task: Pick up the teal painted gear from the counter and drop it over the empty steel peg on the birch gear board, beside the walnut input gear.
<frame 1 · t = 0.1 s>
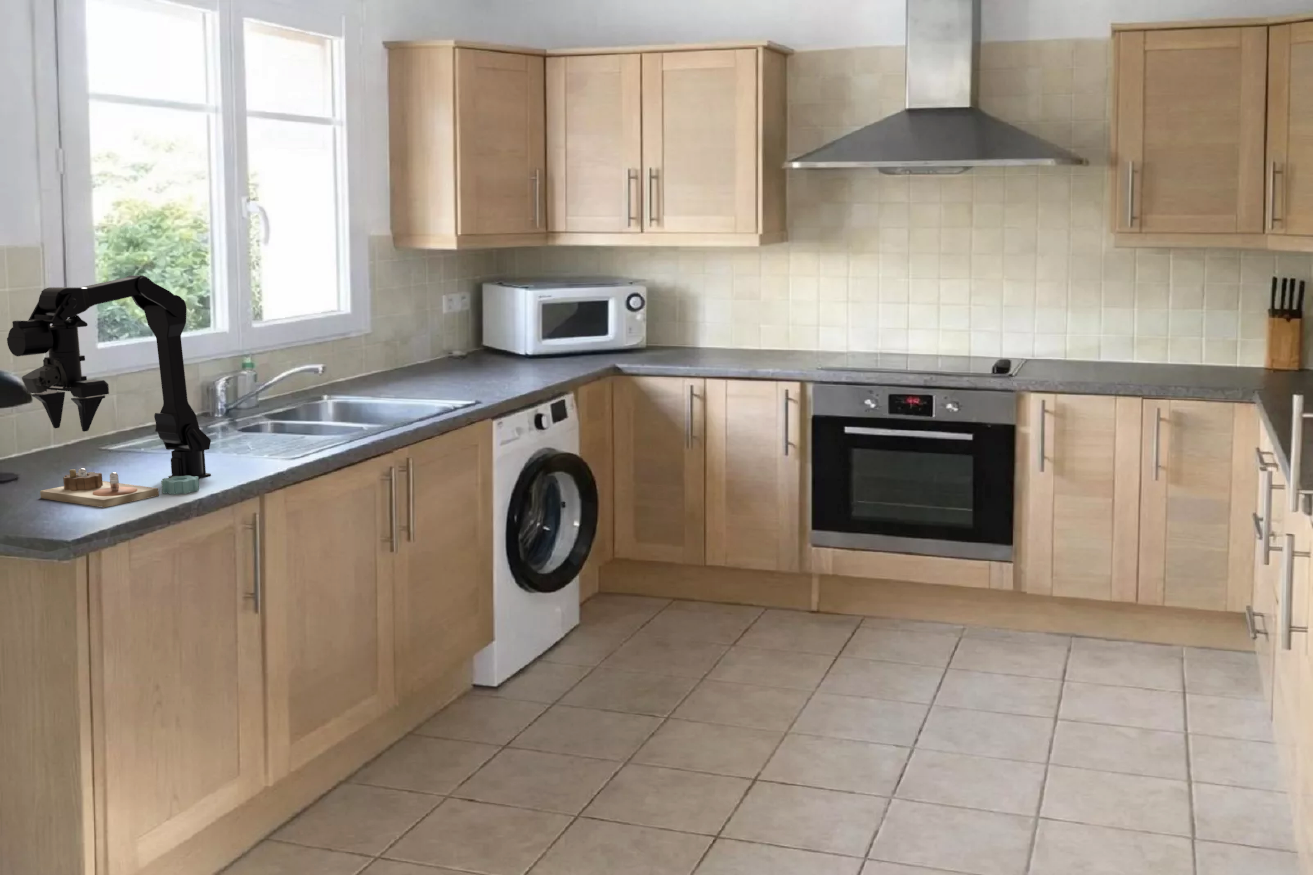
hand: (70, 429, 285), 14 cm above the counter, fingers open, 9 cm apart
steel pegs: (98, 479, 290), on the gear board, point 4 cm above the counter
gear board: (99, 496, 290), on the counter
input gear: (83, 487, 293), resting on gear board
loose gear: (180, 490, 295), on the counter
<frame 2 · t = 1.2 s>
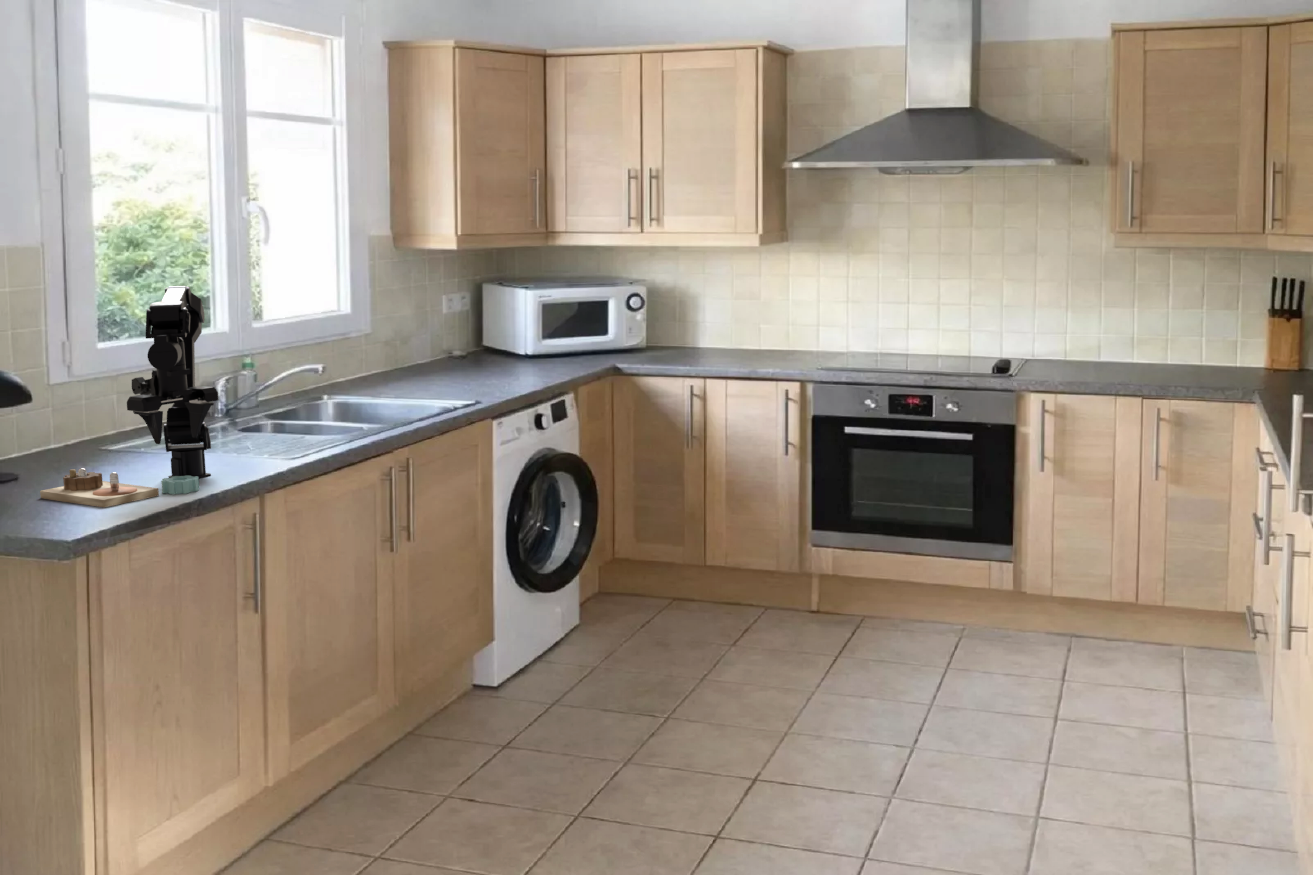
hand: (176, 440, 294), 10 cm above the counter, fingers open, 9 cm apart
nothing on the counter moved.
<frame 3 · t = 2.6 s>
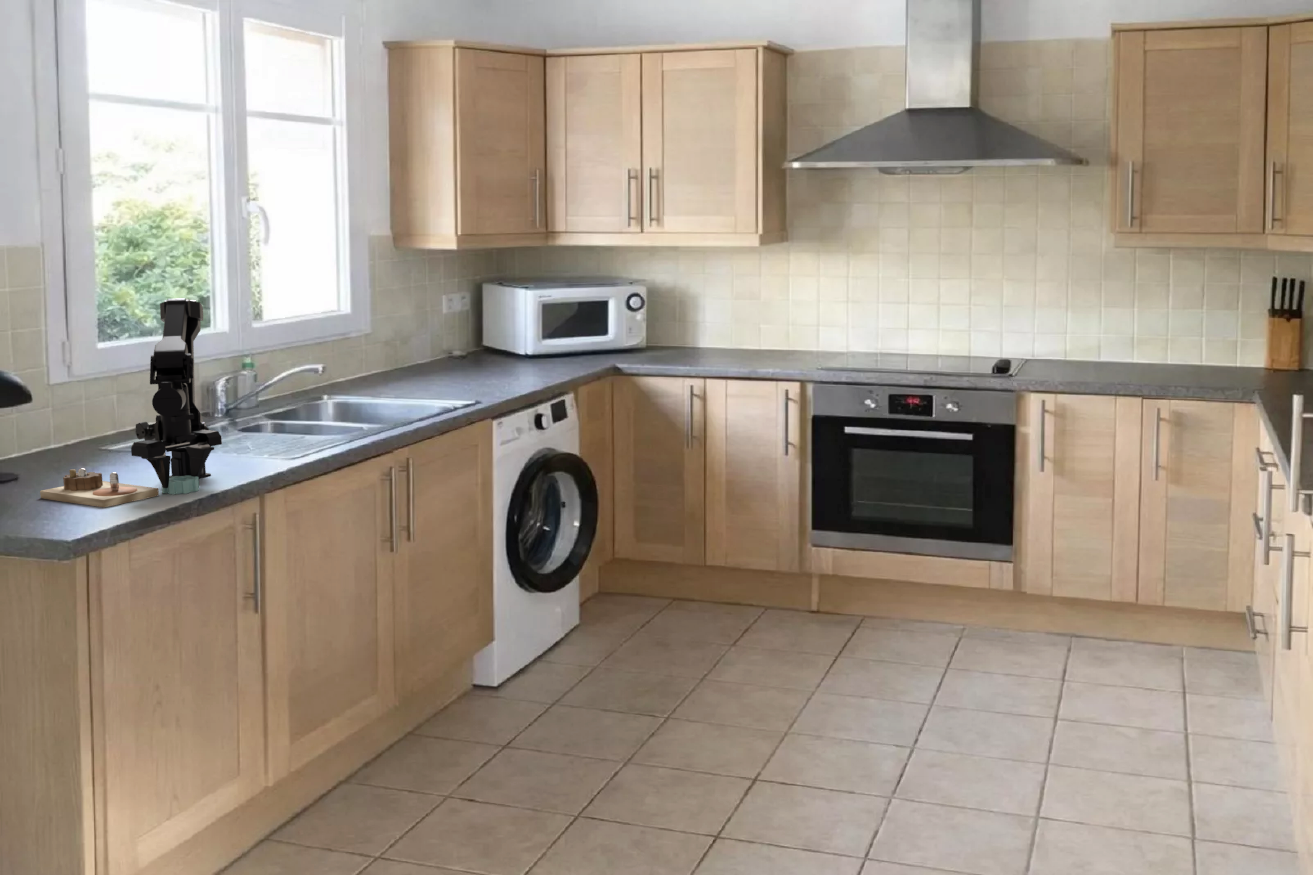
hand: (180, 484, 295), 1 cm above the counter, fingers closed on loose gear, 7 cm apart
loose gear: (180, 490, 295), on the counter, touching gripper
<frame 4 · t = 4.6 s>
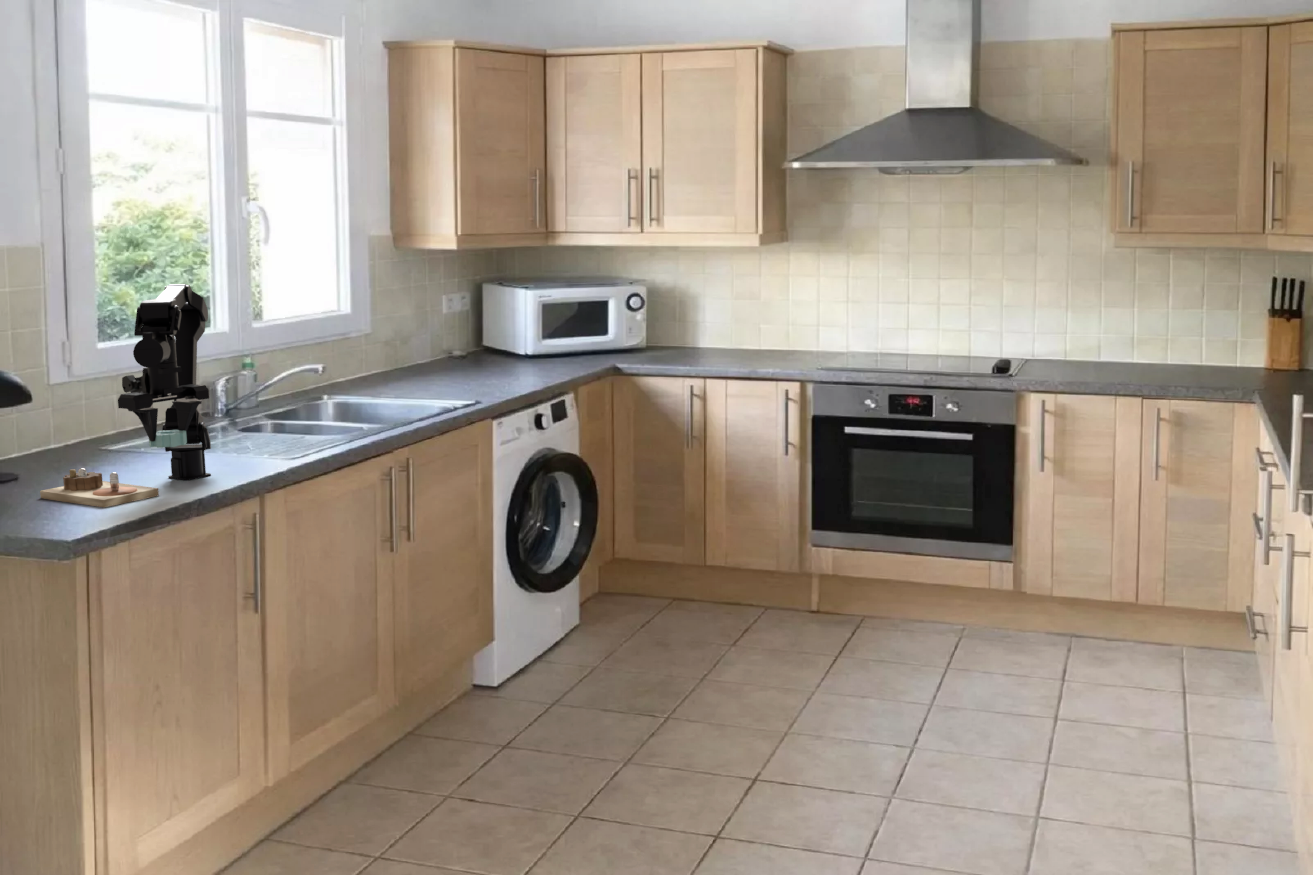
hand: (167, 438, 292), 11 cm above the counter, fingers closed on loose gear, 7 cm apart
loose gear: (168, 444, 292), point 10 cm above the counter, touching gripper
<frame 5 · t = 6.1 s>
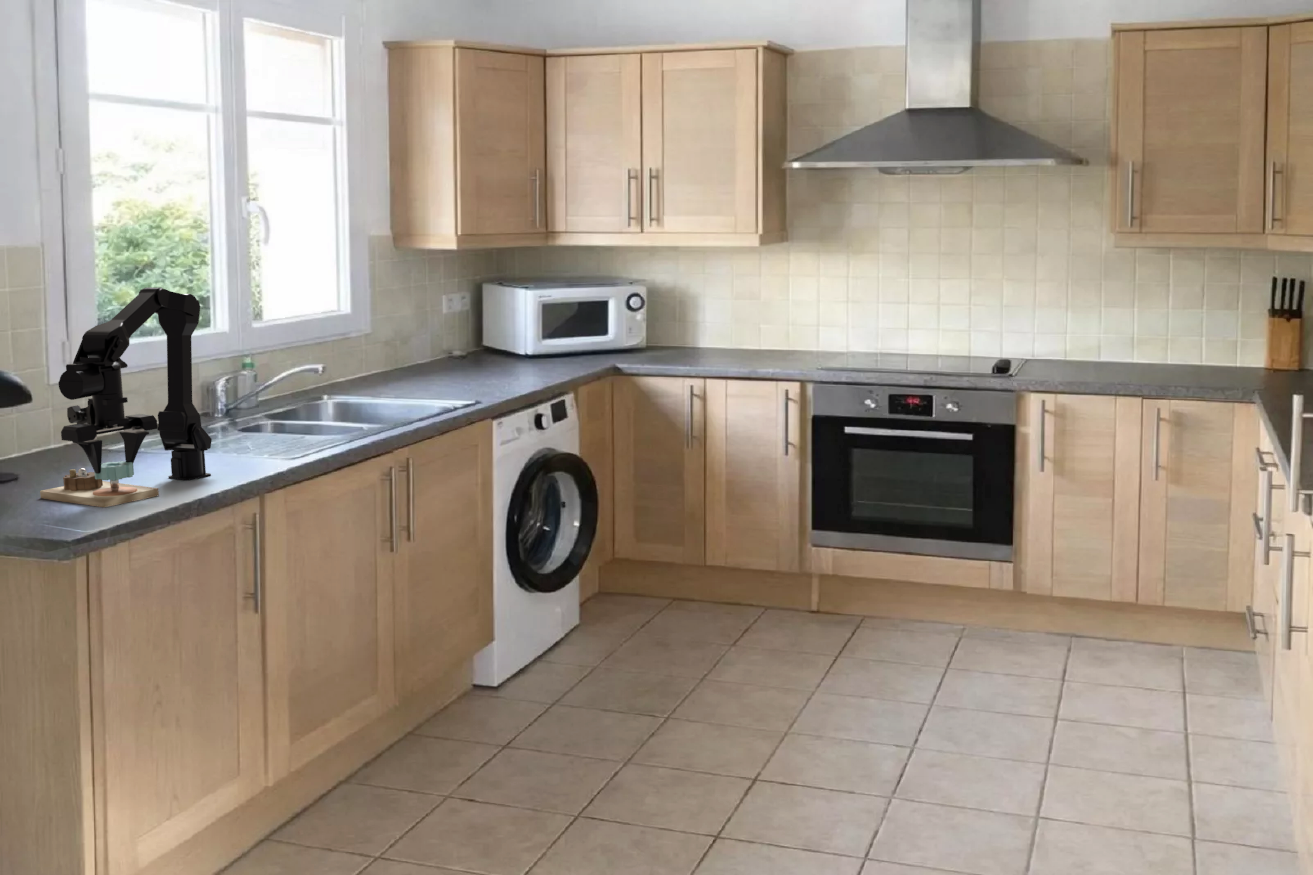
hand: (113, 470, 287), 6 cm above the counter, fingers closed on loose gear, 7 cm apart
loose gear: (114, 476, 287), point 5 cm above the counter, touching gripper
when the fingers open (4 cm above the counter, at t = 7.0 s): loose gear stays where it is, resting on gear board.
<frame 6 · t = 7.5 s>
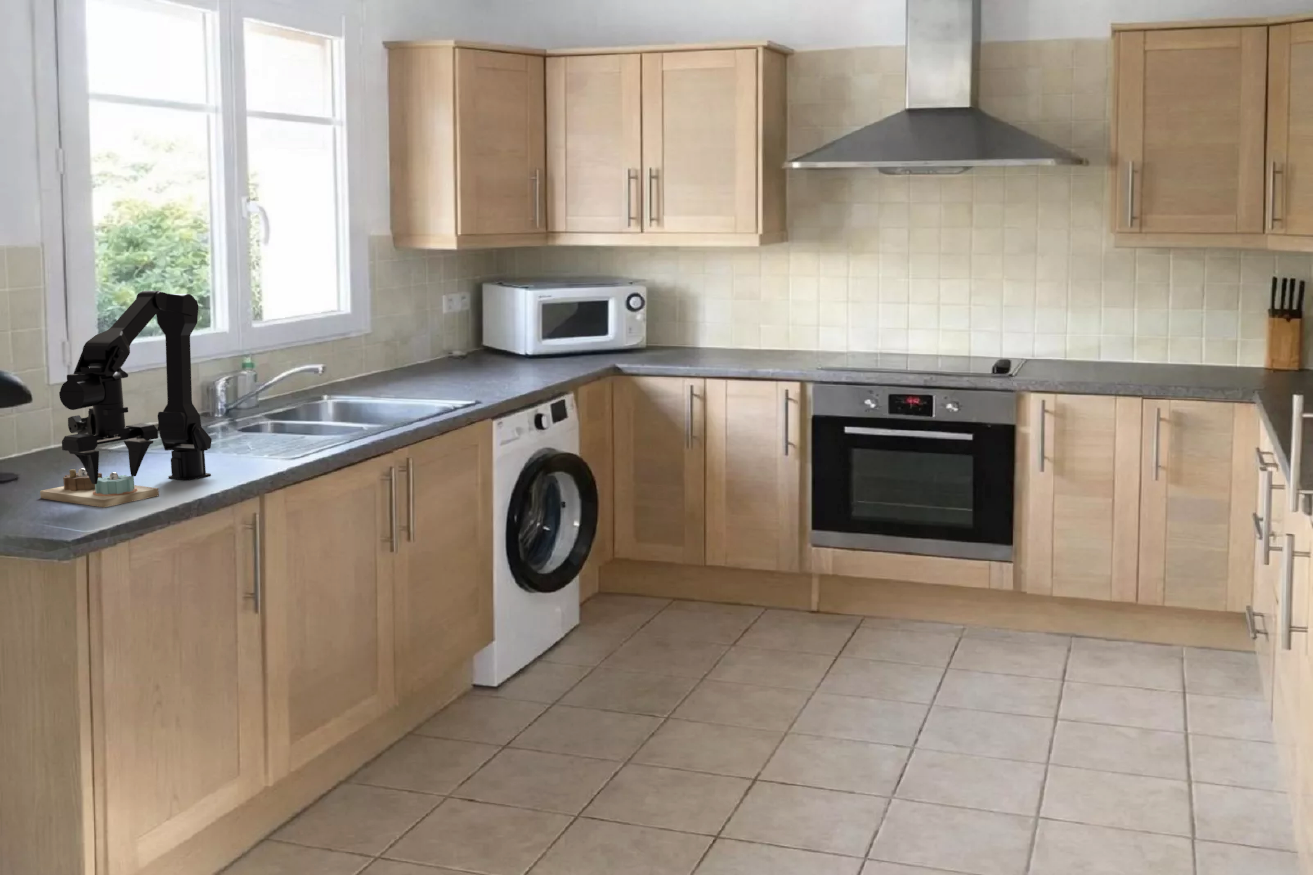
hand: (114, 480, 287), 4 cm above the counter, fingers open, 9 cm apart
loose gear: (115, 490, 288), point 2 cm above the counter, touching gear board
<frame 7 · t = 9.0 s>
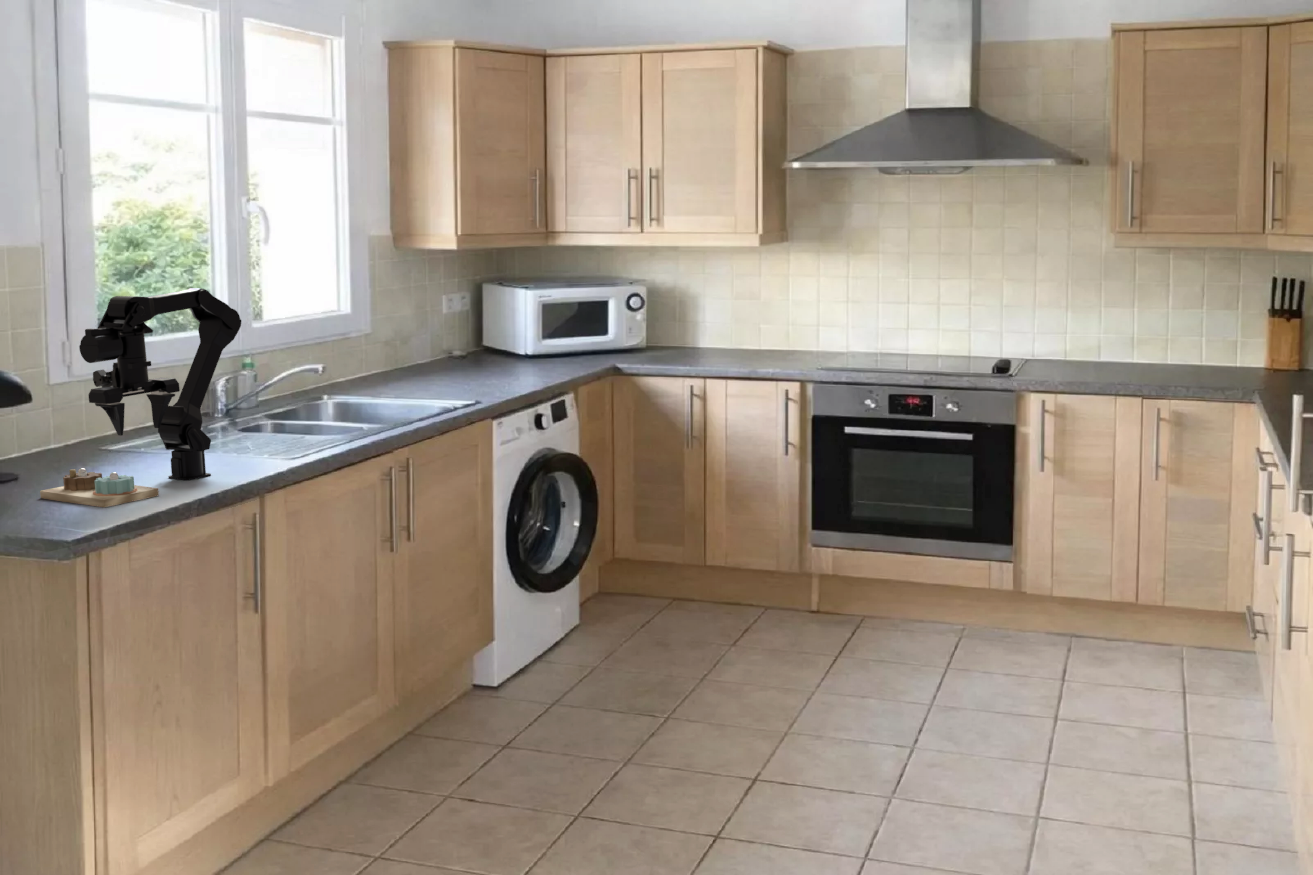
hand: (138, 431, 298), 12 cm above the counter, fingers open, 9 cm apart
nothing on the counter moved.
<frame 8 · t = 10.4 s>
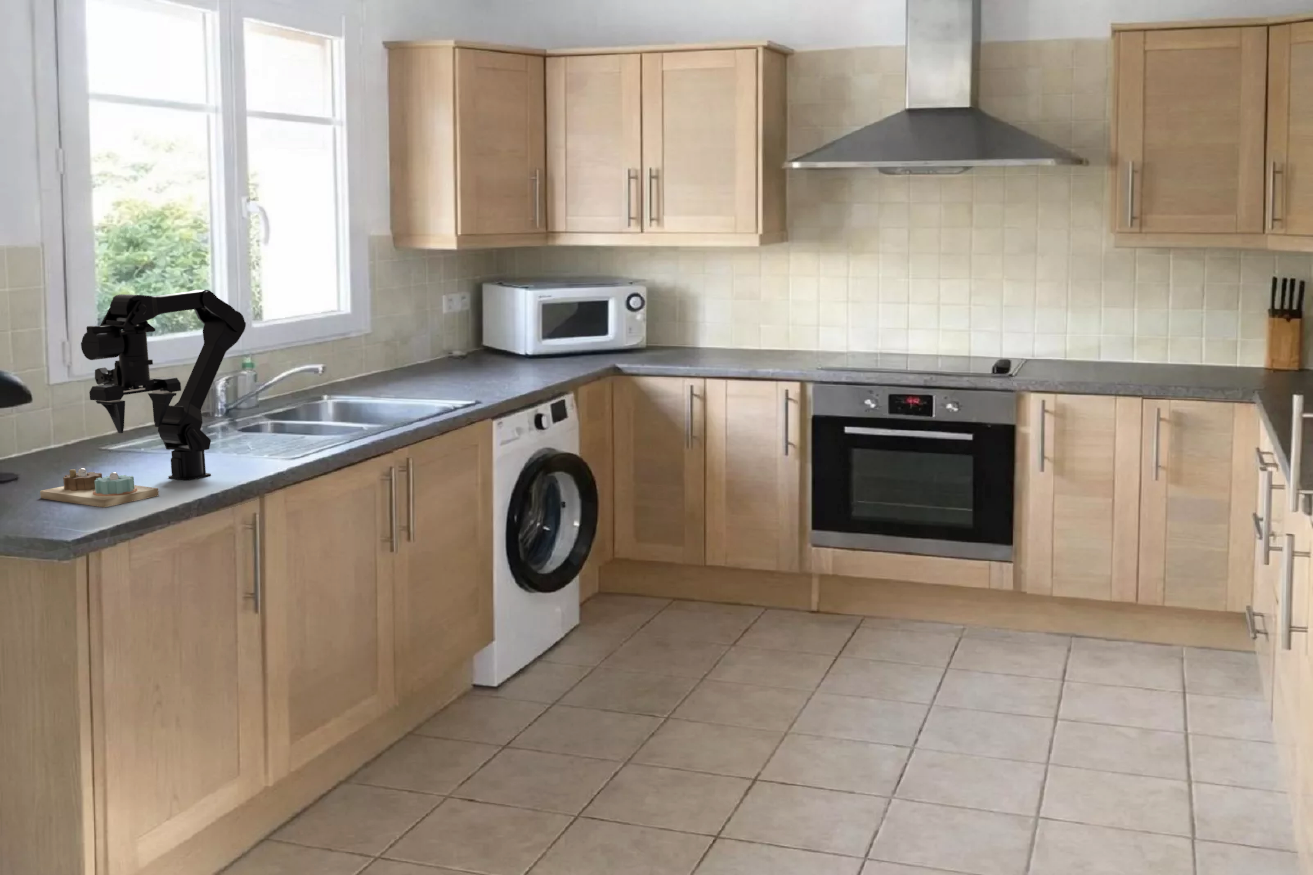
hand: (139, 429, 299), 12 cm above the counter, fingers open, 9 cm apart
nothing on the counter moved.
at the end: loose gear 0.0 cm from the target spot on the gear board, point 1.7 cm above the gear board's base; loose gear tilted 0°; the gripper is holding nothing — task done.
